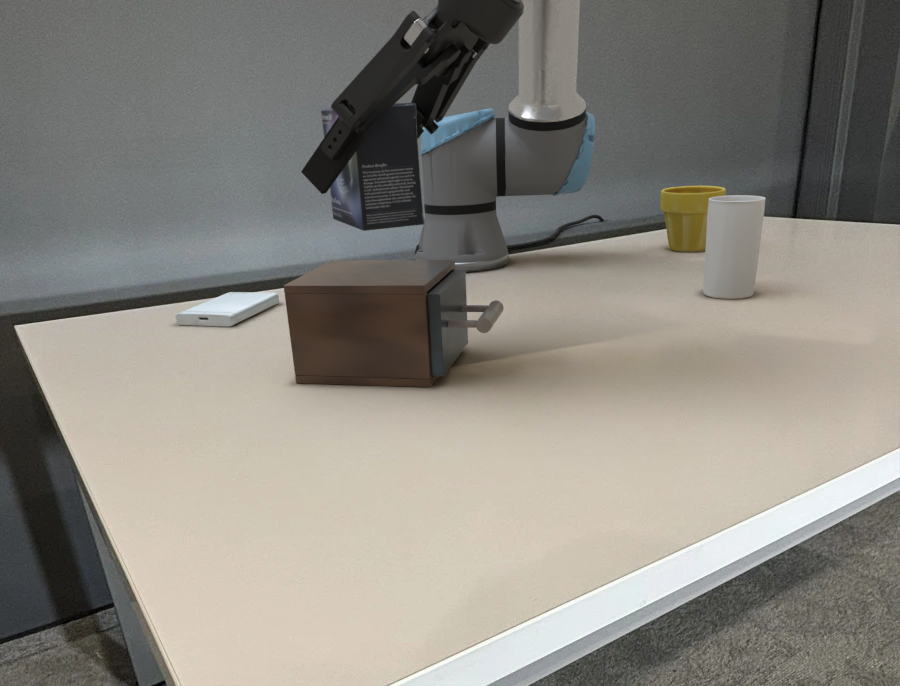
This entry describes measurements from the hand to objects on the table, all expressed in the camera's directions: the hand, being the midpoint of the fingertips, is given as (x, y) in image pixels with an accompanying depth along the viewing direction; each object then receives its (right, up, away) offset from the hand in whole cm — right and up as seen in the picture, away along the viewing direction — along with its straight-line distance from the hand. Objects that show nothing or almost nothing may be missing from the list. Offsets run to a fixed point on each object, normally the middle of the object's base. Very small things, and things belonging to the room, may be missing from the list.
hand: (346, 176), depth 76 cm
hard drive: (-19, -8, +30) cm, 37 cm away
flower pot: (+51, +8, +59) cm, 78 cm away
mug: (+47, -5, +29) cm, 55 cm away
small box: (+3, -4, +1) cm, 5 cm away
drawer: (+7, -17, +4) cm, 19 cm away
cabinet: (+3, -18, +5) cm, 19 cm away
